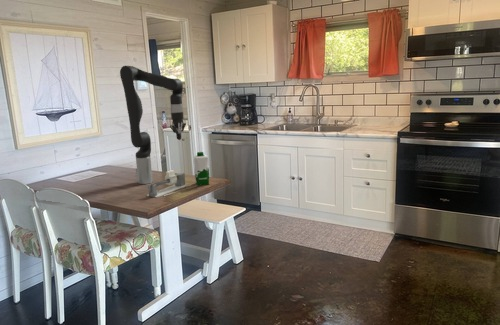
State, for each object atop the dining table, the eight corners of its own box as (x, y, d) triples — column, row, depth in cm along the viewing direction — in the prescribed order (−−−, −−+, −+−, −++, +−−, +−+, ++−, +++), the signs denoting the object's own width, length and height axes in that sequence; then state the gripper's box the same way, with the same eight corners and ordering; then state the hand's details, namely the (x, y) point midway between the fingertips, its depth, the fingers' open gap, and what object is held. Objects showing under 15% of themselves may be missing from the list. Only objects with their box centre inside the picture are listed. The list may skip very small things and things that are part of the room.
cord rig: (157, 197, 223) (155, 184, 221) (146, 196, 227) (145, 182, 225) (187, 186, 245) (186, 173, 244) (177, 184, 249) (176, 172, 248)
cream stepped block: (171, 185, 235) (170, 172, 233) (165, 184, 237) (164, 171, 236) (177, 183, 239) (176, 170, 238) (171, 182, 242) (170, 170, 240)
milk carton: (208, 181, 255) (206, 151, 250) (210, 184, 246) (208, 153, 242) (194, 182, 252) (192, 152, 248) (196, 186, 244) (194, 154, 240)
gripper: (179, 110, 250) (181, 137, 253) (165, 112, 239) (167, 140, 242) (188, 110, 246) (190, 137, 249) (174, 112, 235) (176, 141, 238)
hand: (179, 139), depth 246 cm, fingers closed
